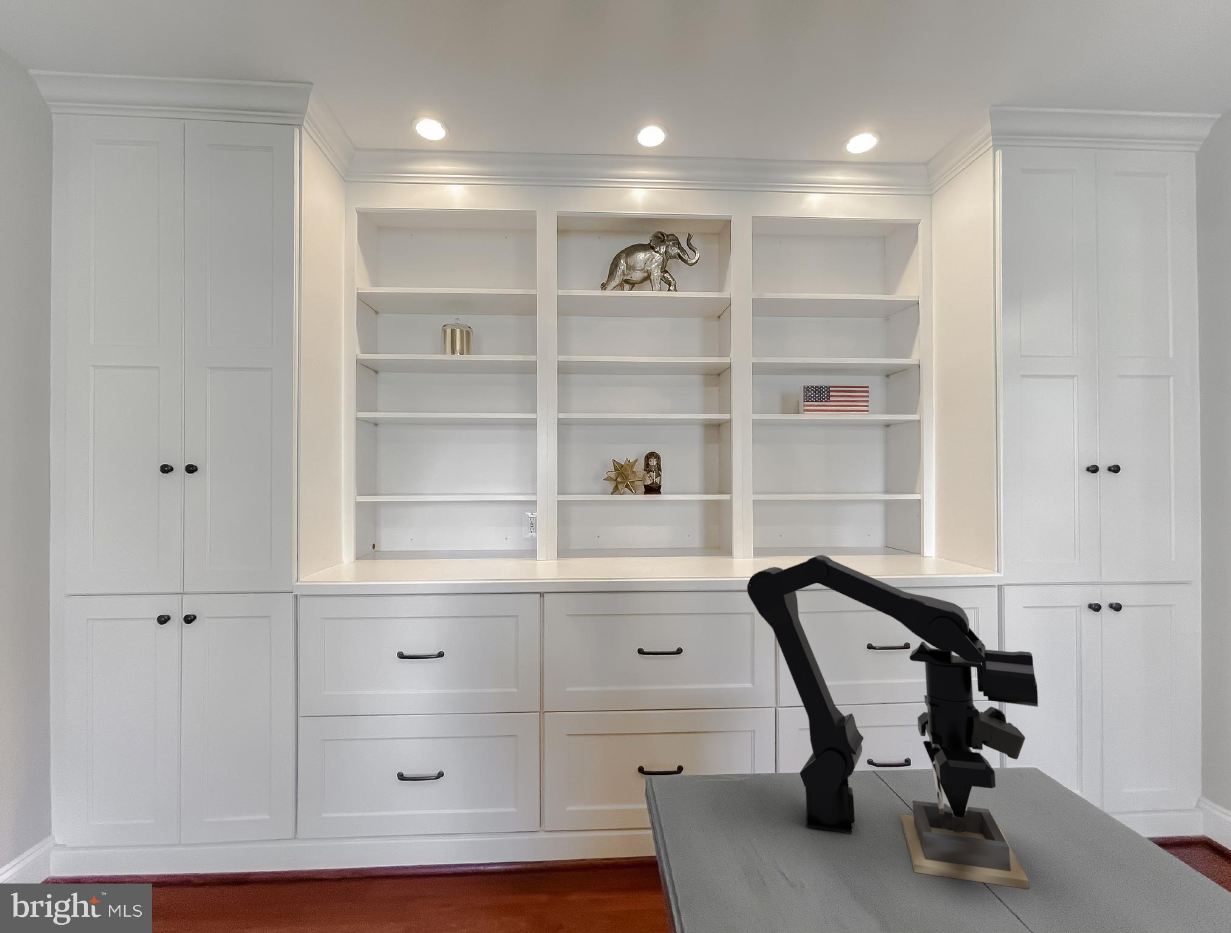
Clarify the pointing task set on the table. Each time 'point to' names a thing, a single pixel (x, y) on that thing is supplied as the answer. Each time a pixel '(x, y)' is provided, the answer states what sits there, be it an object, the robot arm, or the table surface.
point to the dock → (961, 847)
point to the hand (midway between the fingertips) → (955, 809)
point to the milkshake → (948, 811)
